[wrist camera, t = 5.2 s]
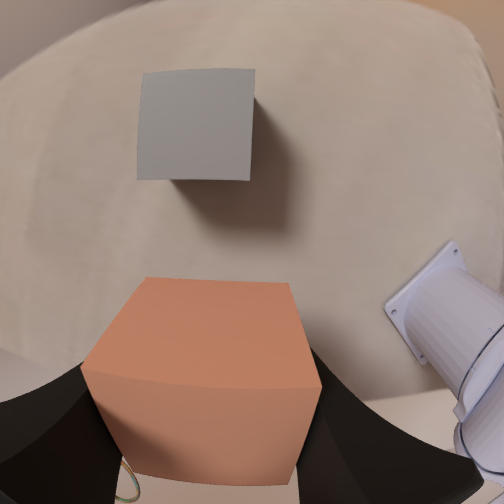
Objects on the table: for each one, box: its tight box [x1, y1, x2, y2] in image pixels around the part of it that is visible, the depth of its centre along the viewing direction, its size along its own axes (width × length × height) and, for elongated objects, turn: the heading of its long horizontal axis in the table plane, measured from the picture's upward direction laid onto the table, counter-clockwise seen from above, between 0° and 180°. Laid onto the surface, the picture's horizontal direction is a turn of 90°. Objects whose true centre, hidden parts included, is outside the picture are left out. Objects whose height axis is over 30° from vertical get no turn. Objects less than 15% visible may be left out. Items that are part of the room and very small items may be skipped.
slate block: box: [137, 68, 255, 181], centre depth 13 cm, size 5×5×5 cm
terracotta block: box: [80, 277, 322, 486], centre depth 8 cm, size 5×5×5 cm
